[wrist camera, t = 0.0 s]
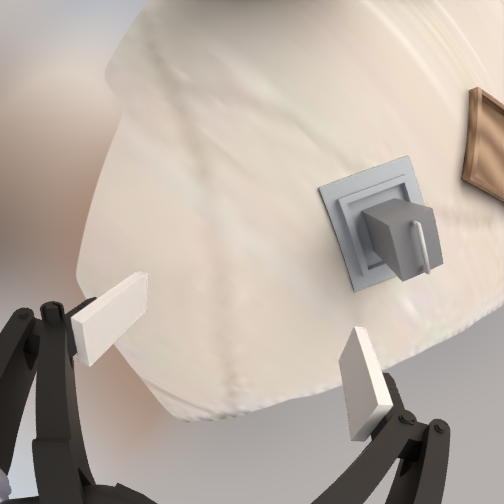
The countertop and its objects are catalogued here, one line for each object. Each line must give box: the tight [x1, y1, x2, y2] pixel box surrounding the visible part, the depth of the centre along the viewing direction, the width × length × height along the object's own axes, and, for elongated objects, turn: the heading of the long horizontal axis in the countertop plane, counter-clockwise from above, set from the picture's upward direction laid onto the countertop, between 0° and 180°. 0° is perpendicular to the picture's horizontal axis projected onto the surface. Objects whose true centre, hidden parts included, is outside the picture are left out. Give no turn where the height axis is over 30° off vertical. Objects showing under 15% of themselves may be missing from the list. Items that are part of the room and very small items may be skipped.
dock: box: [319, 156, 425, 292], centre depth 39 cm, size 18×16×2 cm
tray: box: [461, 87, 504, 202], centre depth 30 cm, size 18×18×3 cm
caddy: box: [361, 198, 443, 282], centre depth 32 cm, size 7×6×15 cm
